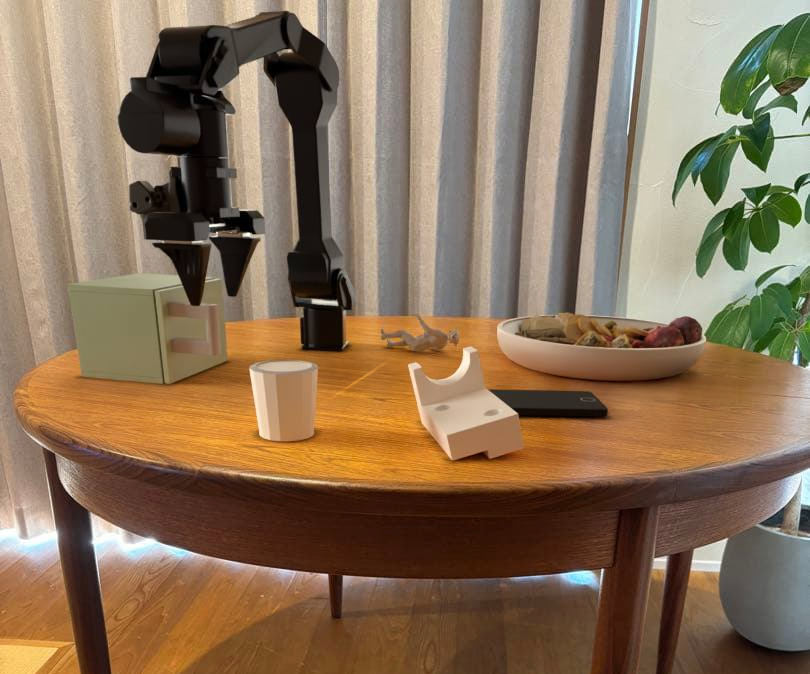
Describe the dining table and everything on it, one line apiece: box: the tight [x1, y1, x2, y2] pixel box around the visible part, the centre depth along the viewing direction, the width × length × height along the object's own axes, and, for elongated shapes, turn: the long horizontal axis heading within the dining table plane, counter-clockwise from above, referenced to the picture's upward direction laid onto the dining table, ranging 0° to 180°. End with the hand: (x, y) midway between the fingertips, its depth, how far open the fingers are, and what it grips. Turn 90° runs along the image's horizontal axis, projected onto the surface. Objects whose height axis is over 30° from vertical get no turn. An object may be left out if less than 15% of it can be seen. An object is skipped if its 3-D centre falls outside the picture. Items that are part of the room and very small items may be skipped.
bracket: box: [407, 345, 525, 461], centre depth 77 cm, size 13×7×8 cm, turn 12°
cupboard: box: [67, 272, 216, 385], centre depth 103 cm, size 12×16×12 cm
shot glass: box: [248, 359, 319, 442], centre depth 77 cm, size 7×7×7 cm
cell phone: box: [487, 388, 609, 418], centre depth 90 cm, size 9×18×1 cm, turn 91°
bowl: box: [496, 311, 707, 382], centre depth 113 cm, size 30×30×8 cm
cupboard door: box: [155, 278, 229, 385], centre depth 101 cm, size 7×16×11 cm, turn 165°
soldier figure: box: [380, 313, 460, 353], centre depth 120 cm, size 8×5×12 cm
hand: (214, 300), depth 93 cm, fingers open, 9 cm apart
